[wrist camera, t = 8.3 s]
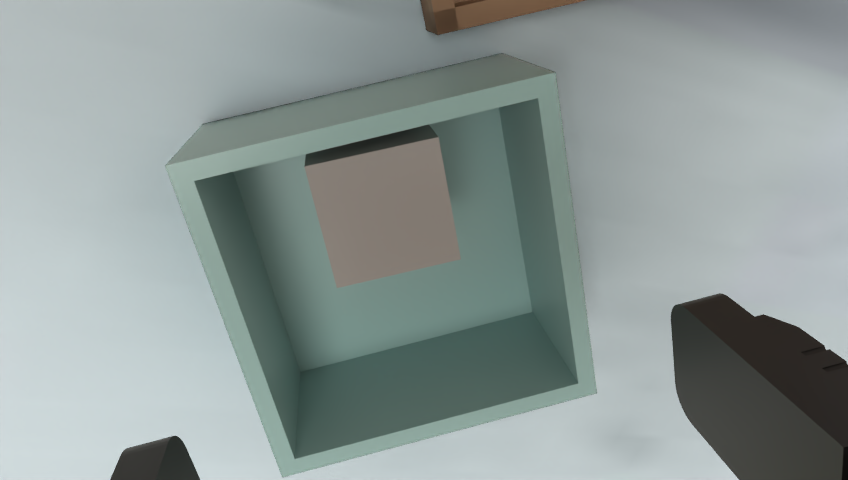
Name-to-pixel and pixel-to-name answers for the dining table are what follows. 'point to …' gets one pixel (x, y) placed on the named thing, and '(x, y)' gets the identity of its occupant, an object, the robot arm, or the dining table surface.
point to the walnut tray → (479, 12)
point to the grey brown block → (383, 205)
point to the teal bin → (402, 293)
